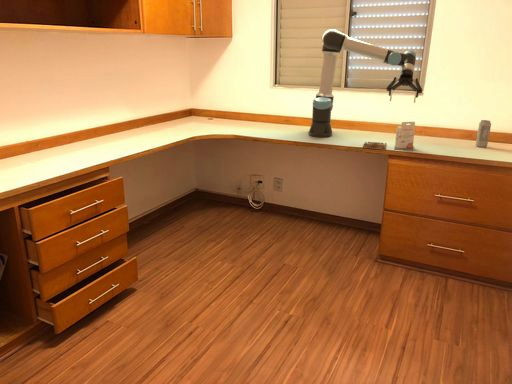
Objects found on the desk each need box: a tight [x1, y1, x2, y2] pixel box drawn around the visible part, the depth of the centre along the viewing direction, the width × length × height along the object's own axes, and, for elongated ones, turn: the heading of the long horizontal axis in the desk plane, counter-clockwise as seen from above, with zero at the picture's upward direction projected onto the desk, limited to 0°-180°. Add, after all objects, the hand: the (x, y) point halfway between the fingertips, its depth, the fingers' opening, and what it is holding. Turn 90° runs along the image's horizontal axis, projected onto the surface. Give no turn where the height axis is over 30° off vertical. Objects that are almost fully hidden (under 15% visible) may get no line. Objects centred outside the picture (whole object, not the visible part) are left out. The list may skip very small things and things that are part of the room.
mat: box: [393, 146, 414, 152], centre depth 242 cm, size 10×12×1 cm
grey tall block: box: [475, 119, 492, 149], centre depth 243 cm, size 6×6×15 cm
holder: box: [362, 141, 387, 150], centre depth 246 cm, size 12×13×2 cm
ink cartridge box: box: [394, 121, 416, 148], centre depth 240 cm, size 9×5×15 cm, turn 101°
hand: (402, 100), depth 252 cm, fingers open, 13 cm apart
